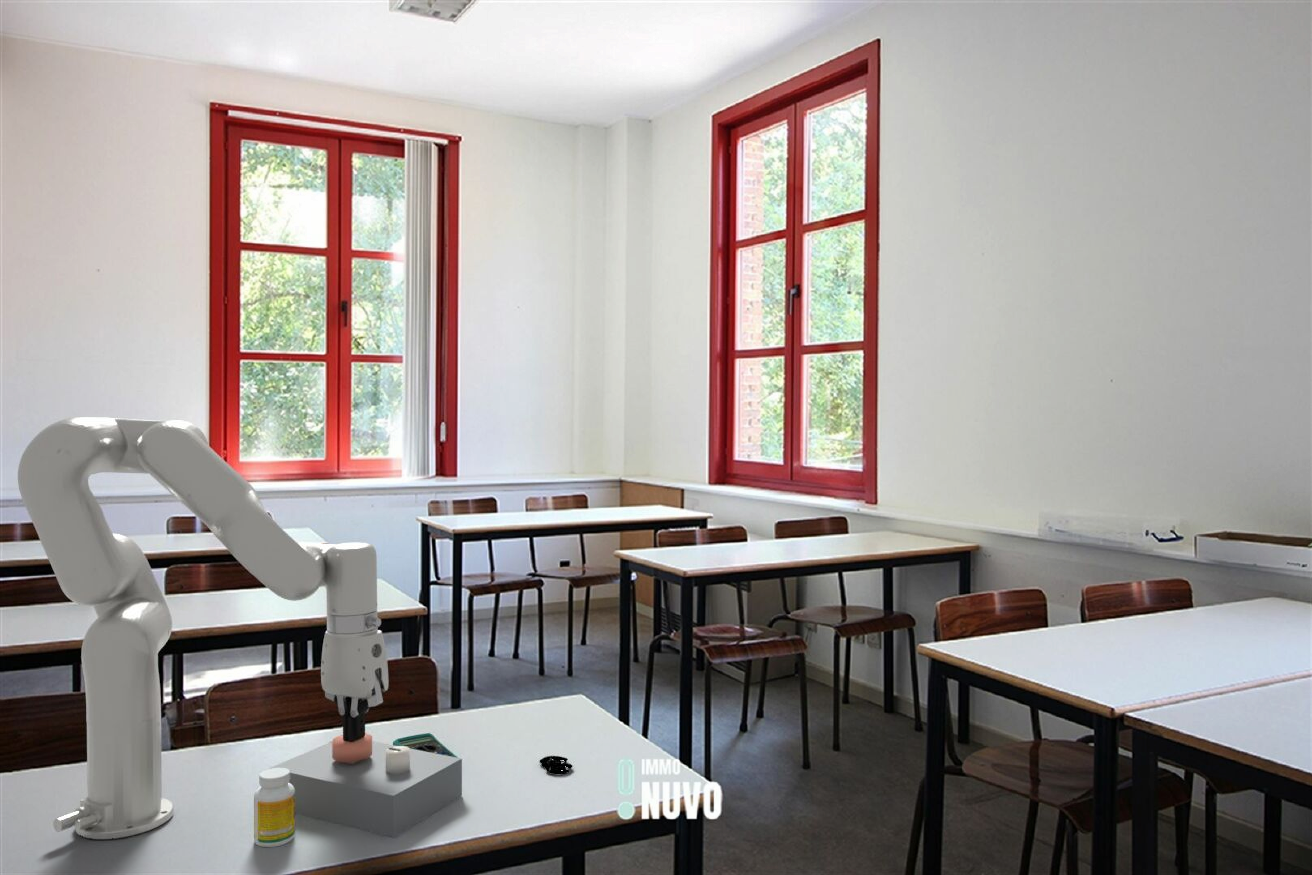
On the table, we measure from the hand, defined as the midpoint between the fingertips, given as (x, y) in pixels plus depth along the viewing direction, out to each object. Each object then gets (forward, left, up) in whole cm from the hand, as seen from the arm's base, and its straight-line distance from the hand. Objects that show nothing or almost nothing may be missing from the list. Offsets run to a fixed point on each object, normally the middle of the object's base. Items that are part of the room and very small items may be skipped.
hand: (354, 738), depth 148 cm
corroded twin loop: (+25, -22, -10) cm, 34 cm away
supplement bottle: (-16, 0, -10) cm, 19 cm away
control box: (0, -3, -9) cm, 10 cm away
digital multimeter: (+18, 0, -10) cm, 20 cm away
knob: (0, -9, -3) cm, 9 cm away
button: (0, 0, -5) cm, 5 cm away
